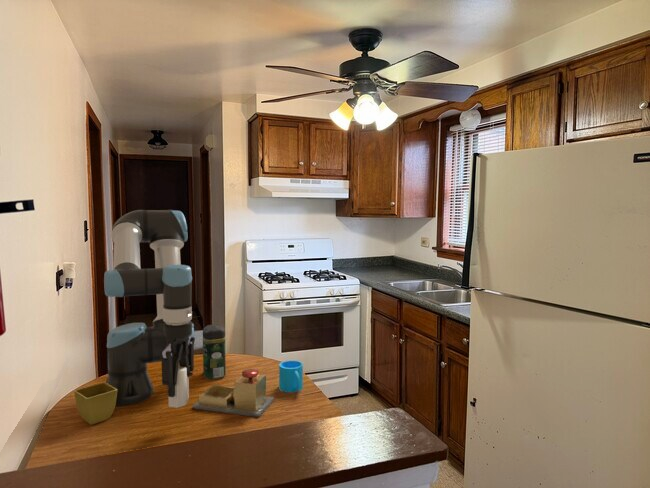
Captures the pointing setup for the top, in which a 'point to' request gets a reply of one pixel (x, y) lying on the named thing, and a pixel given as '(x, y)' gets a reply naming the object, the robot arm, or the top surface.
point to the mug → (290, 376)
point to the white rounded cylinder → (182, 385)
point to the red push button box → (238, 396)
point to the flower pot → (96, 402)
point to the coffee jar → (214, 352)
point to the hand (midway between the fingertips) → (178, 402)
